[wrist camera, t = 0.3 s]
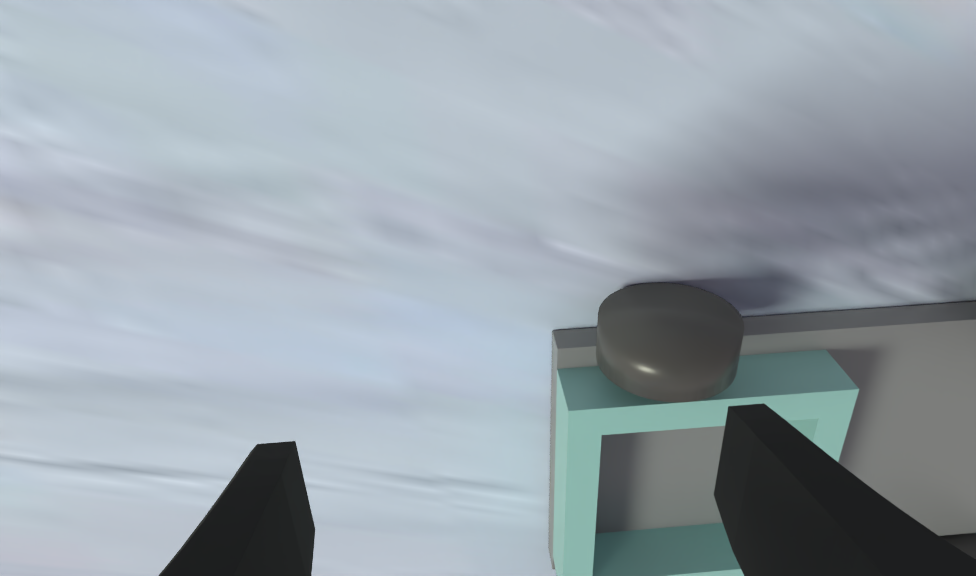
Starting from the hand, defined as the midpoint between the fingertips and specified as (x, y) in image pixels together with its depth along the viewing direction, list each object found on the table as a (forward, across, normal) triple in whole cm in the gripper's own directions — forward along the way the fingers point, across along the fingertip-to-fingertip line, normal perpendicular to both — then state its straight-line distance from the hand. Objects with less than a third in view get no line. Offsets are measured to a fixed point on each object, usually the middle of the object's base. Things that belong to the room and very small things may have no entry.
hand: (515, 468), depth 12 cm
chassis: (+10, -11, +9) cm, 17 cm away
